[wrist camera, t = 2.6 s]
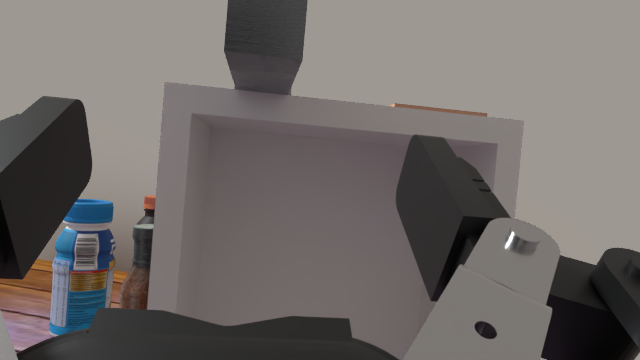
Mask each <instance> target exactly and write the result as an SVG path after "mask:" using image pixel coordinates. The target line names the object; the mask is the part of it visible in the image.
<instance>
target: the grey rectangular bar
mask: <svg viewBox="0 0 640 360" xmlns="http://www.w3.org/2000/svg"><path fill="white" fill-rule="evenodd" d="M306 11H307V0H228V10H227V21H226V33H225V47H224V52H225V55H226V59H227V62H228V65H229V68H230V71H231V75H232V78H233V80H234V84H235V90H244V91H253V92H263V93H272V94H281V95H290V96H291V87H292V84H293V81H294V79H295V77H296V74H297V72H298V70H299V67H300V64H301V62H302V58H303V46H304V35H305V34H304V33H305V23H306Z"/></svg>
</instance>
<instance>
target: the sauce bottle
mask: <svg viewBox="0 0 640 360" xmlns="http://www.w3.org/2000/svg"><path fill="white" fill-rule="evenodd" d="M153 227H154V224H141V225H136V226H134V227H133V239H134V258H133V260H132V261H133V265H132V268H131V270H130V273H129V274H128V275H127V277H126V278H125V280H124V281H123V283H122V286H121V291H120V309H143V310H147V304H148V291H149V279H150V266H151V253H152V240H153Z"/></svg>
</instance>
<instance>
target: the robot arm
mask: <svg viewBox="0 0 640 360" xmlns="http://www.w3.org/2000/svg"><path fill="white" fill-rule="evenodd" d="M91 157H92V156H91V149H90V142H89V135H88V128H87V121H86V114H85V109H84V105H83V103H82V102H81V101H80V100H78V99H68V98H59V97H48V96H43V97H41V98H40V99H38V100H37V101H36V102H35V103H34V104H32V105H31V106H30V107H29V108H28V109H26V110H25V111H24V112H23V113H22V114H16V115H15V116H11V117H9V118H6V119H4V120H1V121H0V278H3V279H23V278H24V277H25V275H26V274H27V272H28V271H29V269H30V268H31V266H32V265H33V263H34V262H35V261H36V259H37V258H38V256H39V255H40V253H41V252H42V250H43V249H44V247H45V246H46V244H47V243H48V241H49V240H50V239H51V237H52V235H53V234H54V233H55V231H56V230H57V228H58V227H59V225H60V224H61V222H62V221H63V219H64V218H65V217H66V215H67V214H68V212H69V211H70V209H71V208H72V206H73V205H74V203H75V202H76V200H77V199H78V197H79V196H80V194H81V193H82V191H83V190H84V189H85V187H86V186H87V184H88V182H89V179H90V176H91V170H92V158H91ZM396 207H397V211H398V213H399V216H400V219H401V222H402V224H403V227H404V230H405V233H406V235H407V238H408V241H409V243H410V246H411V249H412V252H413V254H414V257H415V260H416V263H417V265H418V268H419V271H420V274H421V276H422V279H423V282H424V284H425V287H426V290H427V293H428V295H429V298H430V301H435V302H437V303H436V305H435V306H434V308H433V310H432V311H431V313H430V315H429V316H428V318H427V320H426V321H425V323H424V325H423V326H422V328H421V330H420V331H419V333H418V335H417V336H416V338H415V340H414V341H413V343H412V345H411V346H410V348H409V350H408V351H407V353H406V355H405V356H404V358H403V360H540V358H544V359H547V360H634V359H635V358H636V356H637V355H638V354H639V353H640V253H639V252H636V251H633V250H629V249H624V248H611V249H608V250H606V251H605V252H604V254H603V255H602V257H601V259H600V260H599V262H598V263H597V265H593V264H589V263H586V262H582V261H578V260H575V259H571V258H567V257H564V256H561V255H560V250H559V247H558V245H557V243H556V242H555V241H554V240H553V239H552V238H551V236H549V235H548V234H547V233H546V232H544V231H543V230H541V229H539V228H538V227H536V226H534V225H532V224H530V223H527V222H524V221H521V220H518V219H513V218H511V217H510V216H509V214H508V213H507V211H506V210H505V208H504V207H503V206H502V204H501V203H500V201H499V200H498V199H497V197H496V196H495V194H494V193H493V192H491V189H490V187H489V186H488V185H487V183H486V182H484V179H483V178H482V176H481V175H480V173H479V172H478V171H477V169H476V168H475V167H473V166H472V165H471V164H469V163H468V162H467V161H465V160H464V159H463V158H461V157H457V156H456V155H455V153H454V152H453V150H452V149H451V147H450V146H449V144H448V143H447V141H446V140H445V138H443V137H436V136H427V135H417V134H415V135H413V136H412V138H411V140H410V142H409V145H408V149H407V152H406V156H405V160H404V163H403V167H402V170H401V174H400V178H399V181H398V185H397V190H396ZM0 360H399V359H398V358H396V357H394V356H393V355H391V354H390V353H388V352H387V351H385V350H383V349H381V348H379V347H377V346H375V345H372V344H370V343H367V342H365V341H362V340H359V339H355V338H352V333H351V326H350V320H349V318H328V317H305V316H287V317H282V318H276V319H270V320H264V321H258V322H252V323H246V324H240V325H234V326H223V325H218V324H214V323H210V322H206V321H203V320H199V319H195V318H191V317H187V316H183V315H179V314H176V313H172V312H168V311H164V310H143V309H120V308H98V310H97V312H96V314H95V316H94V319H93V321H92V323H91V325H90V327H89V328H86V329H80V330H76V331H72V332H68V333H65V334H61V335H58V336H56V337H53V338H50V339H47V340H44V341H42V342H40V343H38V344H35V345H33V346H31V347H29V348H27V349H25V350H23V351H21V352H19V353H17V354H16V352H15V350H14V347H13V344H12V341H11V338H10V336H9V333H8V330H7V327H6V325H5V322H4V319H3V316H2V313H1V311H0Z"/></svg>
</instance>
